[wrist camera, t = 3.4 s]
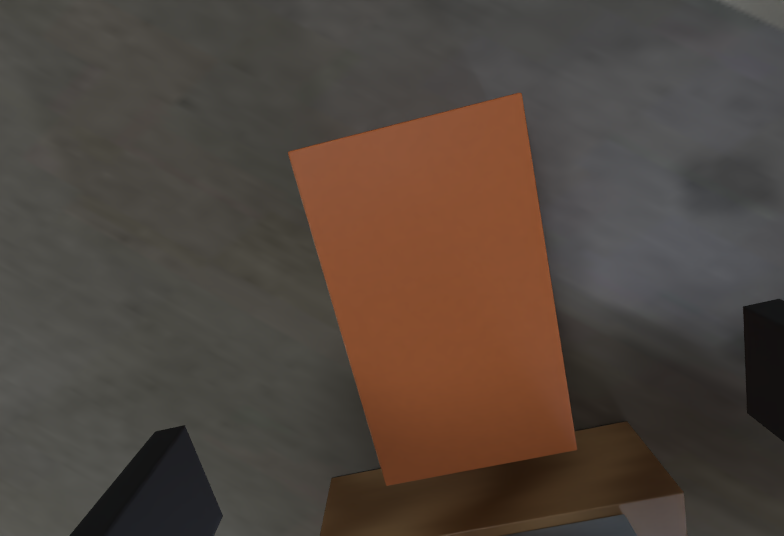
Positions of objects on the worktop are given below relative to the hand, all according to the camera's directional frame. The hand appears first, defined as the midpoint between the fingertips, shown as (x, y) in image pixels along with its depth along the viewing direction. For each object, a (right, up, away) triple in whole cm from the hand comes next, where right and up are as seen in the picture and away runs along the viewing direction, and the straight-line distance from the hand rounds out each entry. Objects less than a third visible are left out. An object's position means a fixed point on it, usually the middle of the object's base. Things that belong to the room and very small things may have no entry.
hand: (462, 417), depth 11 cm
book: (0, +3, +11) cm, 12 cm away
